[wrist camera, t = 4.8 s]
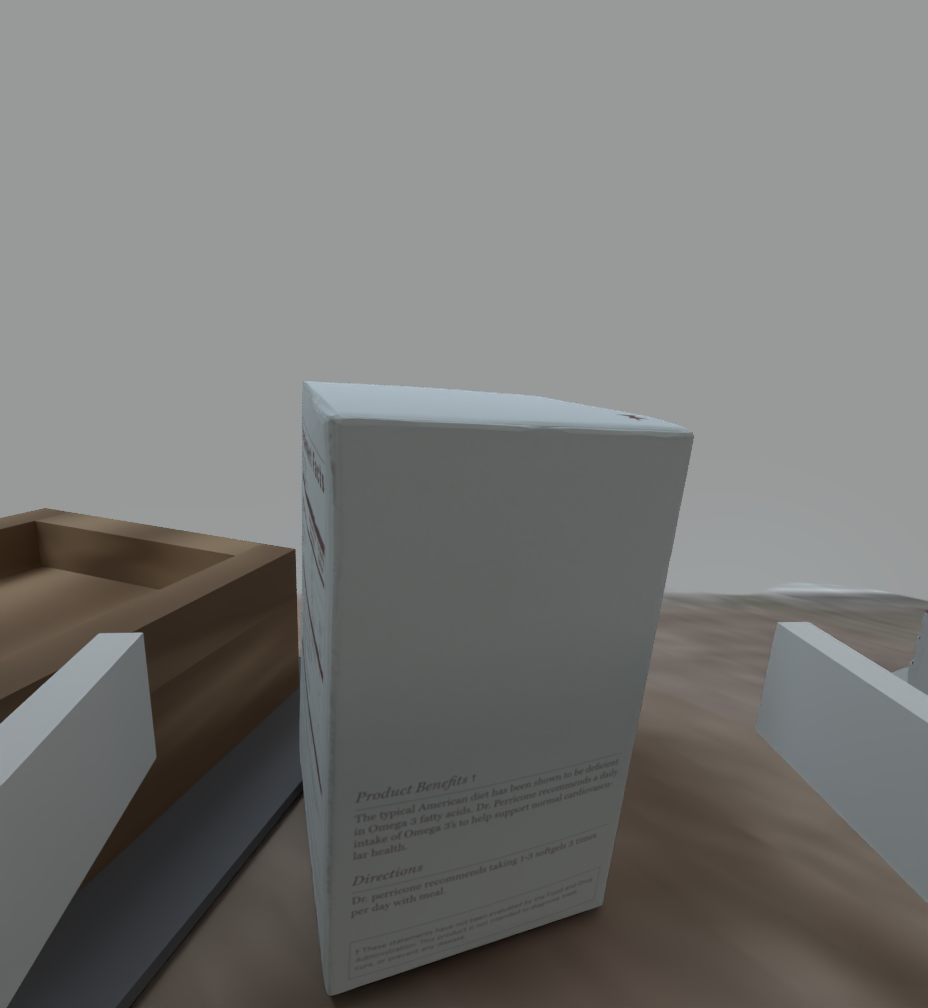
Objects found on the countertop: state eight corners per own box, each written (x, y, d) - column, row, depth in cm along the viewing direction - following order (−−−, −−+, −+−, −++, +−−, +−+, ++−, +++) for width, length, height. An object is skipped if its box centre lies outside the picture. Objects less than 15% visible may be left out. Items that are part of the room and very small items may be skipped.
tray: (-450, 856, 13) (-550, 640, 12) (63, 629, 26) (45, 508, 24) (-109, 1065, 10) (-190, 795, 8) (299, 686, 22) (295, 548, 20)
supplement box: (496, 728, 20) (538, 393, 17) (609, 915, 14) (712, 424, 10) (294, 761, 18) (299, 374, 15) (311, 1012, 11) (325, 400, 8)
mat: (-667, 902, 12) (-675, 889, 12) (59, 609, 28) (58, 602, 28) (-147, 1352, 7) (-154, 1334, 7) (386, 684, 23) (386, 676, 23)
